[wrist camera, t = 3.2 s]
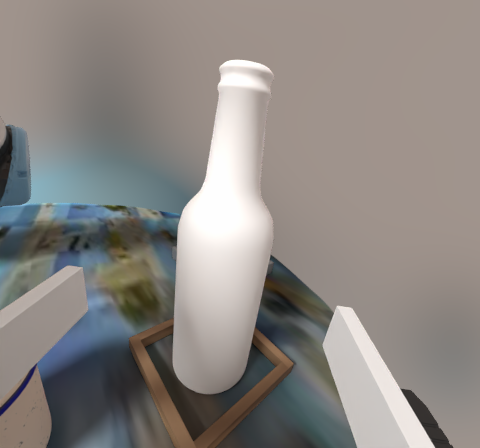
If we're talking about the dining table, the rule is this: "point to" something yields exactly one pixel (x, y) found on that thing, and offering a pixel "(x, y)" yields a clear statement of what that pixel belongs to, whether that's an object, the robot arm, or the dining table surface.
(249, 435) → the dining table surface
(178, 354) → the alcohol
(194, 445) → the square wooden frame
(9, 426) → the teacup with lid
